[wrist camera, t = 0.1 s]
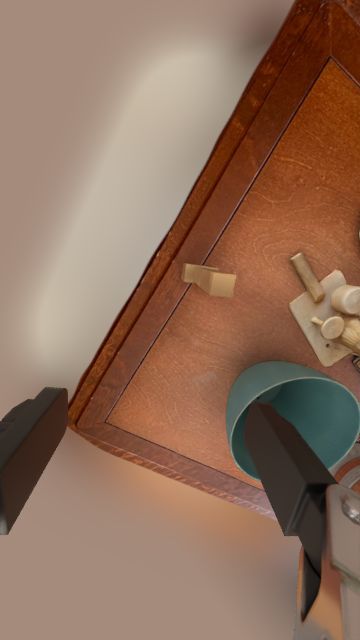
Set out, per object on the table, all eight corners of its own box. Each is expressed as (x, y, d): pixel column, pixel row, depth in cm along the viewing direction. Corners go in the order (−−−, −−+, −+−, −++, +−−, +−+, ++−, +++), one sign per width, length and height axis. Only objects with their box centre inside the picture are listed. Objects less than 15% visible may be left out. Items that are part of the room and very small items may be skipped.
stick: (183, 262, 33) (199, 267, 17) (211, 266, 33) (251, 274, 18) (181, 278, 33) (195, 296, 18) (208, 281, 34) (245, 302, 19)
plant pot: (263, 436, 44) (299, 501, 32) (191, 398, 40) (203, 456, 28) (323, 370, 40) (389, 416, 29) (251, 320, 36) (293, 351, 25)
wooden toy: (371, 338, 39) (474, 379, 26) (321, 368, 40) (397, 422, 27) (325, 232, 33) (431, 217, 20) (268, 271, 34) (333, 280, 21)
